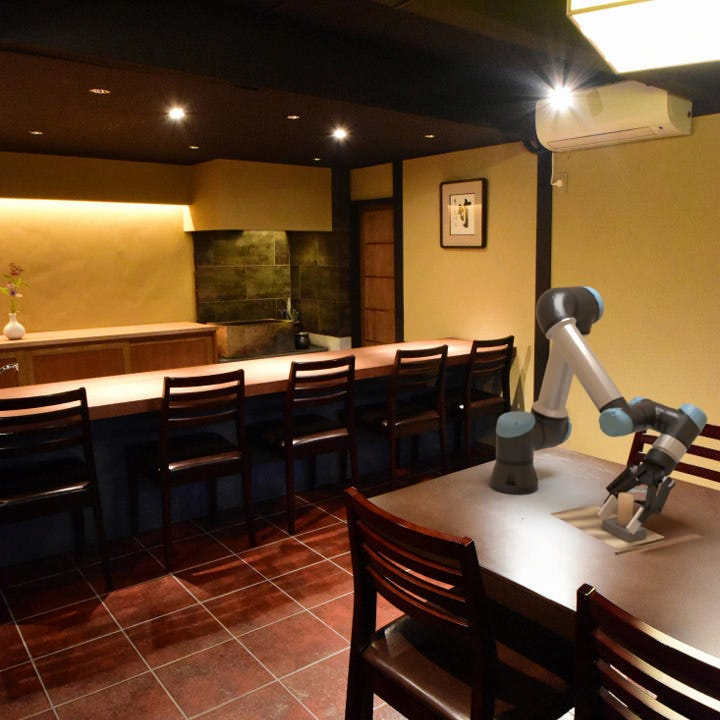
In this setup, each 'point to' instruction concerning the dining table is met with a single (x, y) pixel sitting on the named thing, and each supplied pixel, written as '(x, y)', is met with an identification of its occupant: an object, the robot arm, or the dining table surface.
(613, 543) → the birch board
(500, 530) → the dining table surface
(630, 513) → the sanding block
